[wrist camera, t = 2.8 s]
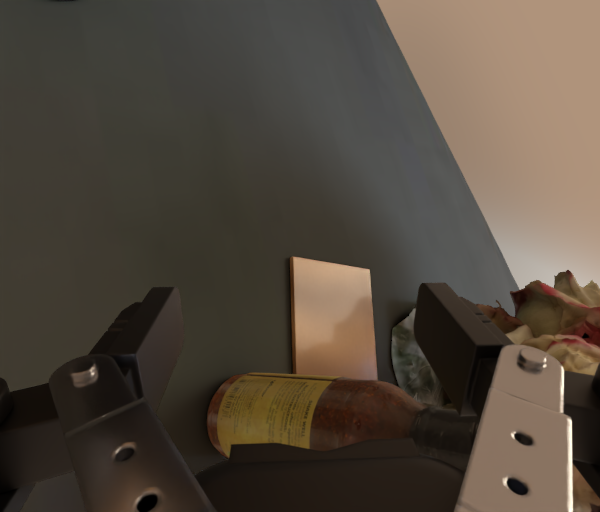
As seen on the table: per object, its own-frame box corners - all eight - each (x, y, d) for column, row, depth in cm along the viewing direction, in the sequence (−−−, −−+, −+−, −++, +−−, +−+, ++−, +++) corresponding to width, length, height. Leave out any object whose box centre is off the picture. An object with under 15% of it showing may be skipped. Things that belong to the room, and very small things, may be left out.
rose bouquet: (467, 291, 61) (743, 261, 40) (490, 487, 54) (840, 576, 33) (377, 271, 44) (772, 199, 23) (393, 552, 37) (983, 820, 16)
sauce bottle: (209, 474, 26) (523, 625, 12) (196, 384, 26) (482, 426, 12) (278, 436, 30) (564, 512, 16) (266, 360, 31) (533, 370, 17)
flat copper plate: (289, 257, 35) (293, 256, 35) (366, 269, 43) (369, 269, 43) (296, 546, 30) (301, 549, 29) (382, 499, 38) (386, 500, 37)
